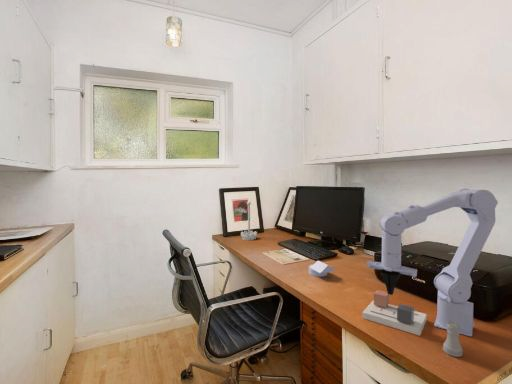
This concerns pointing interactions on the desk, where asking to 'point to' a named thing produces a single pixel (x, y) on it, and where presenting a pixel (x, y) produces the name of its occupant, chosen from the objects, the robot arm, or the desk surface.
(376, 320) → the fader console
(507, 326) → the desk surface
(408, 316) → the charcoal fader
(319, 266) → the wedge on round base
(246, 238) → the flag stand
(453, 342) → the rook chess piece
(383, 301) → the brick fader
